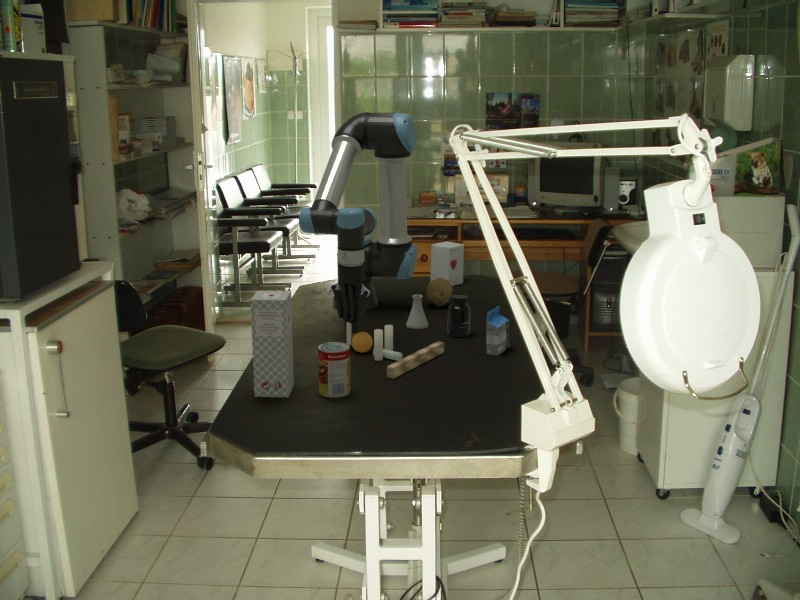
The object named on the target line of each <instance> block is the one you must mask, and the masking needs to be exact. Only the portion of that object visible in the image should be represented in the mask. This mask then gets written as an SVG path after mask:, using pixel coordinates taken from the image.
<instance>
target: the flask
mask: <svg viewBox="0 0 800 600" xmlns="http://www.w3.org/2000/svg"><path fill="white" fill-rule="evenodd" d="M411 296H412V306H411V310H410V312H409V316H408V317H407V318H408V319H407V321H406V324H405V327H406V328H407V329H412V330H413V329H414V330H421V329H423V330H424V329H427V328H428V327H429V323H428V320H427V316H426V314H425V311H424V308H423V304H422V299H423V297H424V296H423V295H422V294H412V295H411Z"/></svg>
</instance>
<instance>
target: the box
mask: <svg viewBox="0 0 800 600" xmlns="http://www.w3.org/2000/svg"><path fill="white" fill-rule="evenodd" d="M292 310H293V308H292V291H291V290H282V291H281V290H256V292H255V293H254V294H253V296H252V297H251V298H250V319H251V321H250V322H251V341H252V342H251V343H252V366H253V367H252V368H253V371H252V372H253V391H254V397H255V398H289V397H290V395H291V393H292V390H293V388H294V385H295V382H294V381H295V380H294V379H295V378H294V377H295V375H294V351H293V350H294V349H293V347H294V346H293V341H294V340H293V313H292V312H293V311H292Z"/></svg>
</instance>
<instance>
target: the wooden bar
mask: <svg viewBox="0 0 800 600" xmlns="http://www.w3.org/2000/svg"><path fill="white" fill-rule="evenodd" d="M444 353H445V342H443V341H440V340H438V341H435V342H433V343H432V344H430V345H428V346H426V347H424V348H422V349H419V350H417V351H415V352H414V353H412V354H409V355H407V356H406V357H404V358H403V357H402V359H401V360H399V361H395V362H394V363H391V364H389V365H388V366H386V378H389V379H392V380H393V379H396V378H397V377H400V376H401V375H404V374H405V373H407V372H409V371H411V370H412V369H413V370H414V369H416V368H417V367H419V366H421V365H422V364H424V363H427V362H428V361H430V360H432V359H434V358H436V357H439V356H440V355H442V354H444Z"/></svg>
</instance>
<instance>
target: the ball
mask: <svg viewBox="0 0 800 600" xmlns="http://www.w3.org/2000/svg"><path fill="white" fill-rule="evenodd" d="M373 340H374V339H373V337H372V336H371V335H370V334H369V333H368V332H366V331H358V333H356V334H355V335H354V336H353V338H352V345H351V346H352V348H353V349H354V350H355V352H358V353H367V352H369V351H370V350H371V348H372V347H373V345H374V344H373V343H374V341H373Z"/></svg>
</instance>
